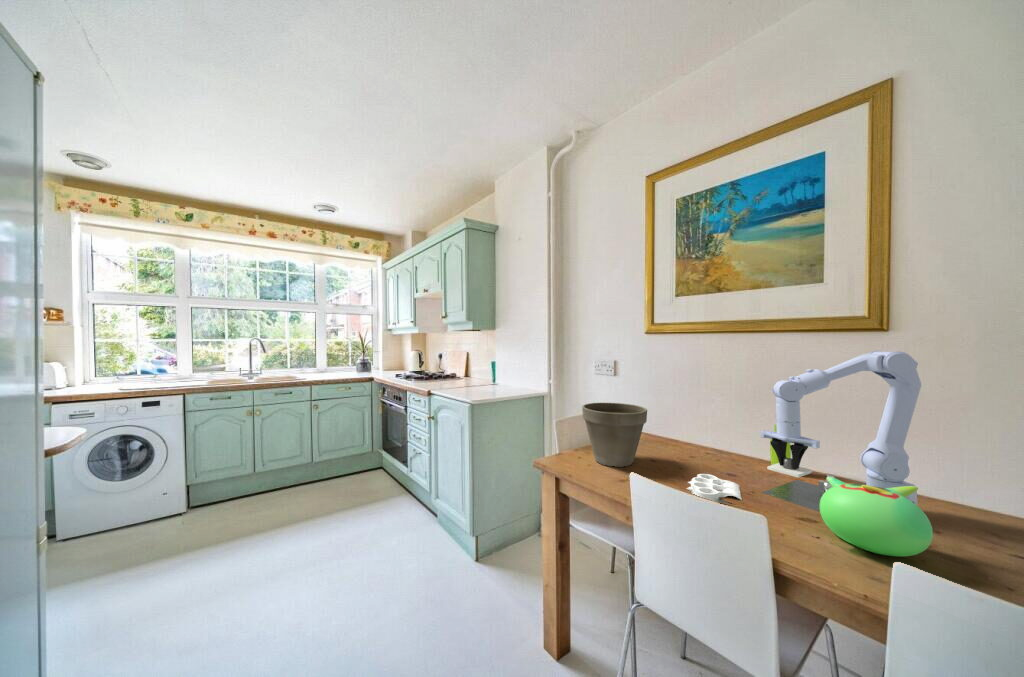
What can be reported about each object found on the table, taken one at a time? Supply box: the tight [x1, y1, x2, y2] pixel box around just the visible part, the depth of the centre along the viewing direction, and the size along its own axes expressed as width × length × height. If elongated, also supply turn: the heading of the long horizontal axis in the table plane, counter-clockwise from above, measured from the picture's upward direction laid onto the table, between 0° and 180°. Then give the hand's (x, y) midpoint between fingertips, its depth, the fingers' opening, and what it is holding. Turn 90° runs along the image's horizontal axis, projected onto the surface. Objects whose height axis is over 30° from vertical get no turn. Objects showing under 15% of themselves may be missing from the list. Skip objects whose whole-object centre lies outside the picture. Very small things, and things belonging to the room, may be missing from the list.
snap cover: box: [766, 457, 813, 478], centre depth 108 cm, size 8×8×4 cm
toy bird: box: [819, 476, 934, 557], centre depth 82 cm, size 18×17×15 cm
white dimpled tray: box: [685, 473, 743, 506], centre depth 112 cm, size 3×18×15 cm
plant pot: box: [581, 402, 648, 468], centre depth 144 cm, size 25×25×22 cm
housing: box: [761, 479, 825, 512], centre depth 108 cm, size 14×21×2 cm, turn 118°
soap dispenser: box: [769, 424, 792, 466], centre depth 131 cm, size 6×7×20 cm
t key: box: [818, 473, 836, 492], centre depth 111 cm, size 11×4×3 cm, turn 135°
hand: (789, 466), depth 108 cm, fingers closed on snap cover, 3 cm apart
